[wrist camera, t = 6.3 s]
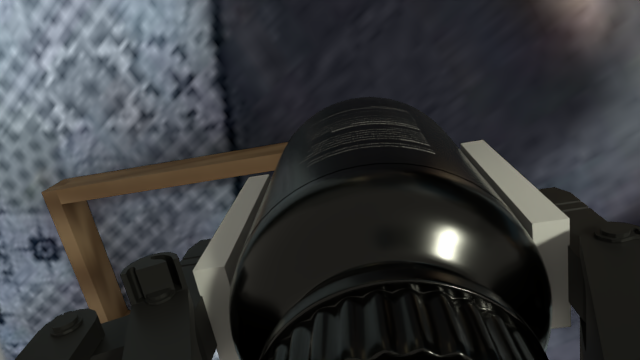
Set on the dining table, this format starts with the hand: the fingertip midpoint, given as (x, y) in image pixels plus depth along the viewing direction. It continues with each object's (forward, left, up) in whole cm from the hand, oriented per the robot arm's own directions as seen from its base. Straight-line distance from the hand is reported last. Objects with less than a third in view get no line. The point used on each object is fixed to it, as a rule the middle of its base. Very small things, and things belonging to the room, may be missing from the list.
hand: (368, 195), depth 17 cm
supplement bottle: (0, 0, -1) cm, 1 cm away
